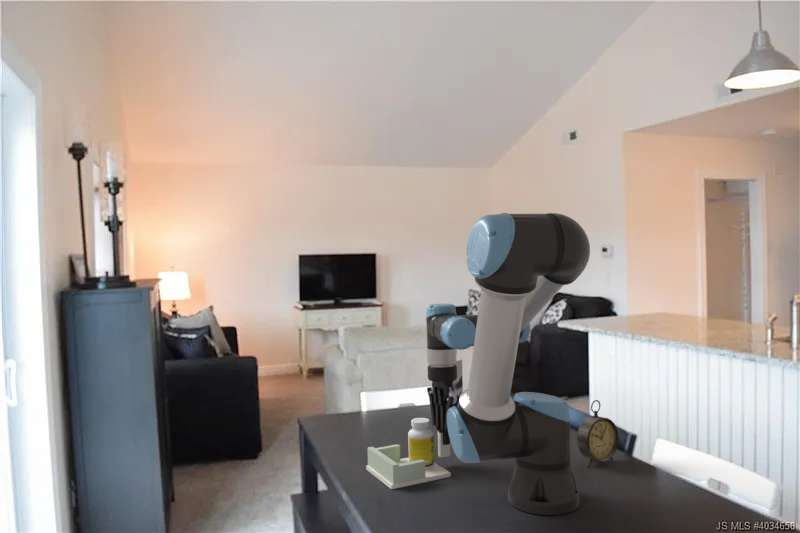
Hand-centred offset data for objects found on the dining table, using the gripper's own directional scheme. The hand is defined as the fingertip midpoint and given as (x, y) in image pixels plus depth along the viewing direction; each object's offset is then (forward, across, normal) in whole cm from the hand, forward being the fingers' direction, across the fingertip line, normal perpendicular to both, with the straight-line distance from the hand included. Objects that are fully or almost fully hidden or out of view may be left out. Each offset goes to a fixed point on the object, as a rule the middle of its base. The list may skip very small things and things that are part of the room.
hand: (444, 455), depth 158 cm
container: (+3, +36, -22) cm, 42 cm away
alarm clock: (+3, -18, -35) cm, 39 cm away
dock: (+3, 0, +11) cm, 11 cm away
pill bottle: (+2, 0, +7) cm, 7 cm away
